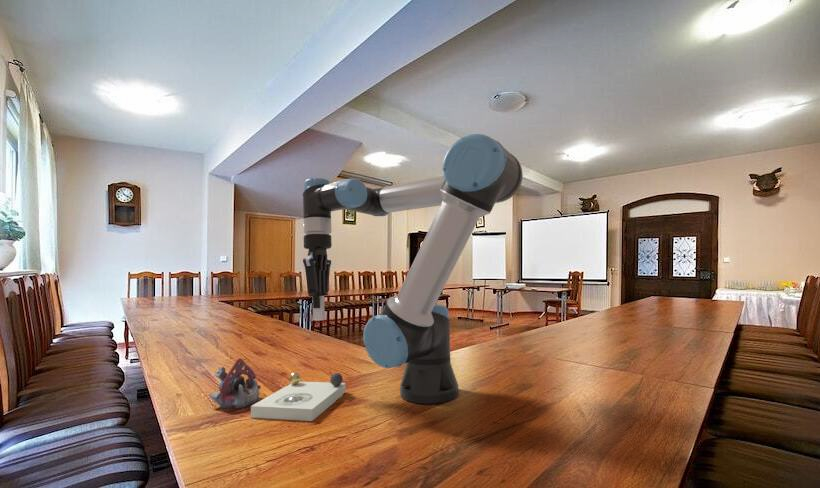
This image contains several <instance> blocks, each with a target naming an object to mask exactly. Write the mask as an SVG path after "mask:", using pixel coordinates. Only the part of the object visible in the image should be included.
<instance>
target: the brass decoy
mask: <svg viewBox="0 0 820 488" xmlns="http://www.w3.org/2000/svg"><path fill="white" fill-rule="evenodd" d="M301 380H302V375H301V373H299V372H298V371H293V372H292V373H290V375H289V376H288V382H289V384H293V385H295V384H298V383H299V382H301Z"/></svg>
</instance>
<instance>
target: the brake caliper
mask: <svg viewBox="0 0 820 488" xmlns="http://www.w3.org/2000/svg"><path fill="white" fill-rule="evenodd" d="M226 370H227V369H226V368H225V366H222V367H220V366H219V367H218V370H216V372H215V374H214V375H215V378H218V379H219V382H218V384H217V385H218V392H212V393H210V394H209V395H208V396H209V397H210V399H211V400H213V401H214V402H215V403H217V404H218V405H219V407H220V408H222V409H229V408H233V409H235V408H237V409H239V408H245V407H247V406H248V405H251V404H255V403H256V402H257V400H259V399H260V389H261V385H260V384H259V385H258V381H257V375H256V374H255V372H254V370H253V369H252V368H251V367H250V366H249V365H248V364H247V363H246V362H245V361H244V359H242V358H240V357H239V358H237V359H236V360H235V362H234V364H233V365H232V366H231V368H230V371H228V373H227V371H226ZM242 375H244V376H247V378H246V380H245V377H244V376H242Z"/></svg>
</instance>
